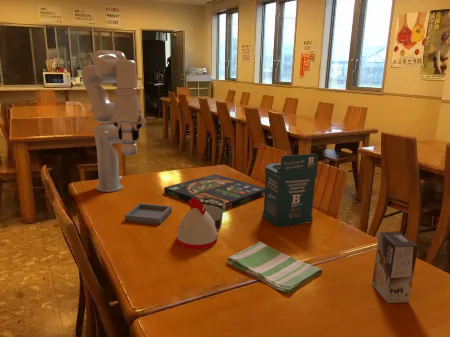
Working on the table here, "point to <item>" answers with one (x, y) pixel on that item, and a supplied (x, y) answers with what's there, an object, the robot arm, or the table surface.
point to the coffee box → (394, 266)
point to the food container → (214, 208)
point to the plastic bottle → (127, 137)
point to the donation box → (290, 190)
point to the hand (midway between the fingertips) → (128, 139)
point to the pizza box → (216, 190)
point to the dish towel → (273, 267)
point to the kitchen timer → (197, 228)
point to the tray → (148, 214)
